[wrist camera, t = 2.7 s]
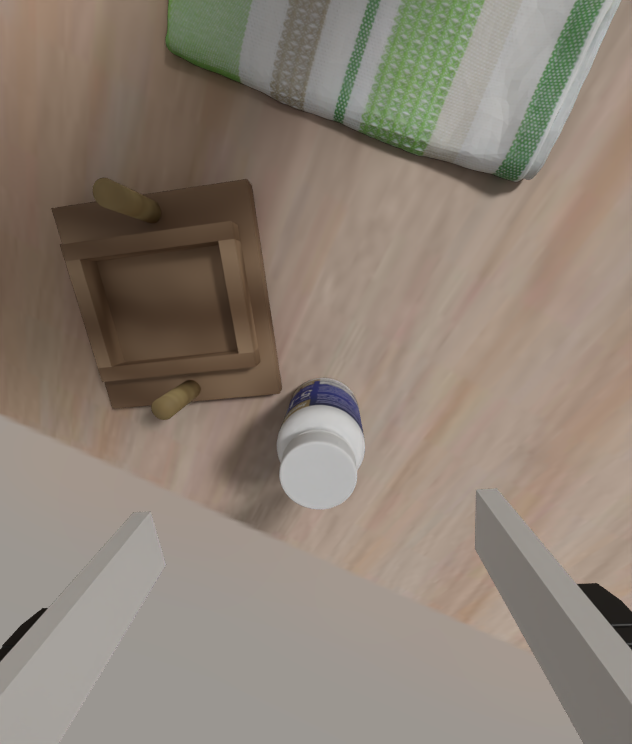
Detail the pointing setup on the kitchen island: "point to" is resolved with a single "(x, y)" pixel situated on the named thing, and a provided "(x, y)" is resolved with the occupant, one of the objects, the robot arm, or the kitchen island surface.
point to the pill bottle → (320, 444)
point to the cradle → (172, 293)
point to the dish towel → (410, 67)
